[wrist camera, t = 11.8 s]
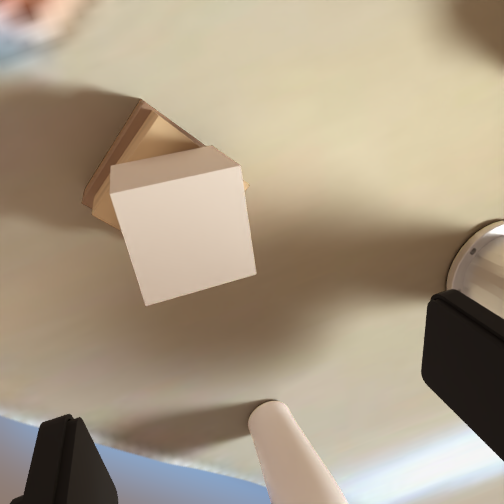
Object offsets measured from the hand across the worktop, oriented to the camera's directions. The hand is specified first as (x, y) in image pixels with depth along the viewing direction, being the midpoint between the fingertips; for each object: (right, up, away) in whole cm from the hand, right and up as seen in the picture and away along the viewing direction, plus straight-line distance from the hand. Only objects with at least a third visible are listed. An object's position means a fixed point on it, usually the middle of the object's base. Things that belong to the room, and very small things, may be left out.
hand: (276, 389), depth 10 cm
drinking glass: (+1, -16, +36) cm, 40 cm away
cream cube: (-5, +7, +14) cm, 16 cm away
